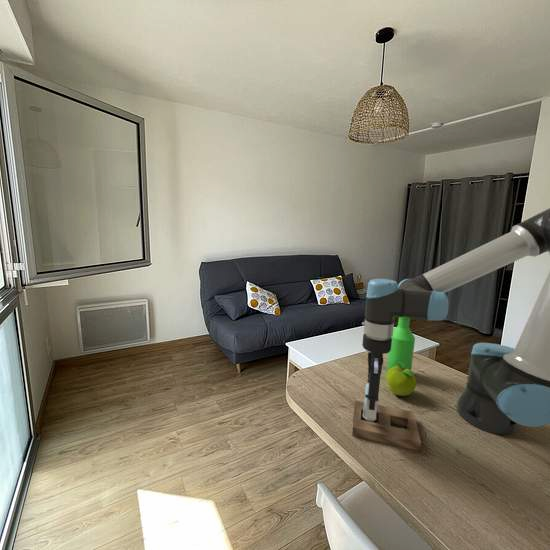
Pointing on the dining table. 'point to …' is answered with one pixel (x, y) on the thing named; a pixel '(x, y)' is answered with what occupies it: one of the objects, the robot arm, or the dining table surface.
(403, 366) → the fruit
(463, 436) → the dining table surface
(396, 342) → the bottle
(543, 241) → the robot arm
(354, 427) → the board
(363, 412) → the peg
